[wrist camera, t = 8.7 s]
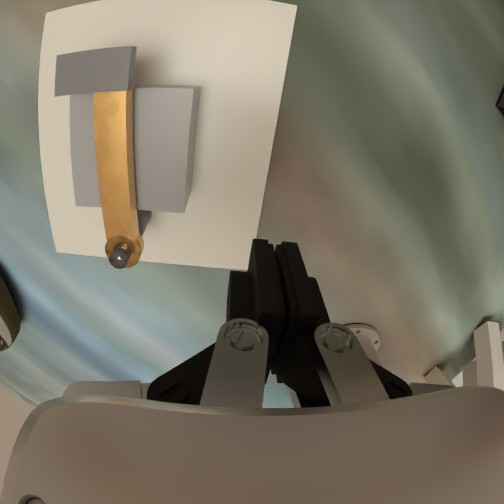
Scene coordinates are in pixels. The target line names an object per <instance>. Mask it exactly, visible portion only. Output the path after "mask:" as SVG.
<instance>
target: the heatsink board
mask: <svg viewBox="0 0 504 504" xmlns="http://www.w3.org/2000/svg"><path fill="white" fill-rule="evenodd" d="M296 10H297V6H296V5H291V4H286V3H281V2H275V1H269V0H101V1H95V2H90V3H85V4H80V5H75V6H71V7H67V8H63V9H59V10H55V11H52V12H48V13H46V17H45V23H44V30H43V38H42V46H41V56H40V69H39V94H38V114H39V140H40V153H41V164H42V173H43V181H44V189H45V196H46V202H47V208H48V214H49V219H50V224H51V229H52V234H53V238H54V243H55V247H56V251H57V252H61V253H70V254H79V255H88V256H98V257H107V255H106V253H105V245H106V242H107V239H106V233H105V228H104V221H103V215H102V208H101V201H100V193H99V184H98V175H97V165H96V152H95V137H94V109H93V93H95V92H111V91H129V90H132V89H133V159H134V178H135V193H136V206H137V217H138V227H139V234H140V235H141V236H142V238H143V240H144V249H143V252H142V254H141V256H140V259H139V261H148V262H158V263H169V264H180V265H191V266H203V267H214V268H226V269H239V270H248V265H249V258H250V252H251V246H252V240H253V239H256V236H257V230H258V225H259V219H260V214H261V208H262V202H263V197H264V191H265V186H266V180H267V174H268V169H269V163H270V157H271V152H272V146H273V140H274V135H275V129H276V123H277V118H278V112H279V106H280V101H281V95H282V89H283V84H284V78H285V72H286V67H287V61H288V55H289V50H290V44H291V38H292V33H293V27H294V21H295V15H296ZM107 258H108V257H107Z"/></svg>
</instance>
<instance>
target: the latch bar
mask: <svg viewBox="0 0 504 504" xmlns="http://www.w3.org/2000/svg"><path fill="white" fill-rule="evenodd" d="M93 109H94V137H95V152H96V165H97V175H98V184H99V193H100V201H101V208H102V215H103V221H104V228H105V233H106V239H107V242H106V245H105V253H106V255H107V257H108V259H109V261H110V263H111V265H112V266H114V267H115V268H118V269H122V268H129V267H132V266H134V265H136V264H137V263H138V261H139V259H140V256H141V254H142V252H143V249H144V240H143V238H142V236H141V235H140V234H139V227H138V217H137V206H136V193H135V178H134V159H133V89H132V90H129V91H111V92H95V93H93Z"/></svg>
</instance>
